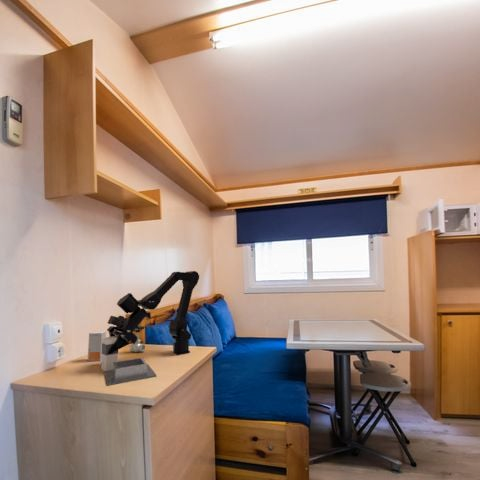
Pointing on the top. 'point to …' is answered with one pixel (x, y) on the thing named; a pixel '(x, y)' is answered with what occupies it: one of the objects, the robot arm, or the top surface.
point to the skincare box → (95, 346)
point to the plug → (106, 357)
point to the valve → (137, 342)
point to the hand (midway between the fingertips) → (106, 352)
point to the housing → (128, 371)
